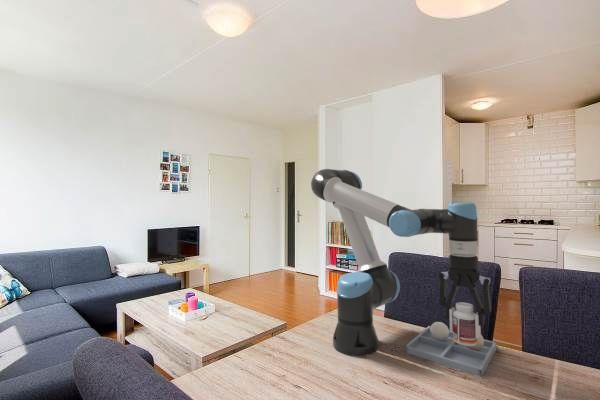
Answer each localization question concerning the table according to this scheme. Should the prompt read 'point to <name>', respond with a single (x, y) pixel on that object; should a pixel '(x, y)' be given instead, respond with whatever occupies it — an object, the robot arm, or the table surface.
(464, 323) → the pill bottle
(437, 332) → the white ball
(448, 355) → the divided tray
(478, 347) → the egg brown
